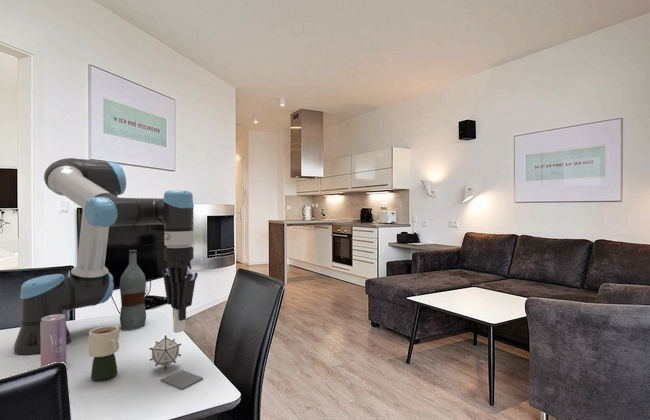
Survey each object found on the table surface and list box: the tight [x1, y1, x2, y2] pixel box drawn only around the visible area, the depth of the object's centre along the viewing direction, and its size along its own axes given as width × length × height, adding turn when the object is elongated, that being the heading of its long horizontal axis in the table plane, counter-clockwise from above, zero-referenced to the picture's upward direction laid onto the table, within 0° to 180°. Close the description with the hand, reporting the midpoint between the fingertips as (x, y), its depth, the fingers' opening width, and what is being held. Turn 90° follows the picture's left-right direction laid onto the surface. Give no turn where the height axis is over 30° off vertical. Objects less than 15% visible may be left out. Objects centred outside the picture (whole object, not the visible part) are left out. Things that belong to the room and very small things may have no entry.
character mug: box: [88, 325, 120, 381], centre depth 100 cm, size 11×7×13 cm, turn 60°
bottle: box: [119, 249, 147, 331], centre depth 142 cm, size 9×9×30 cm
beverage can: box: [40, 313, 67, 368], centre depth 105 cm, size 6×6×15 cm
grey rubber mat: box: [160, 369, 204, 391], centre depth 97 cm, size 9×7×1 cm
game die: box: [148, 334, 182, 370], centre depth 104 cm, size 9×8×10 cm
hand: (179, 331), depth 101 cm, fingers closed
